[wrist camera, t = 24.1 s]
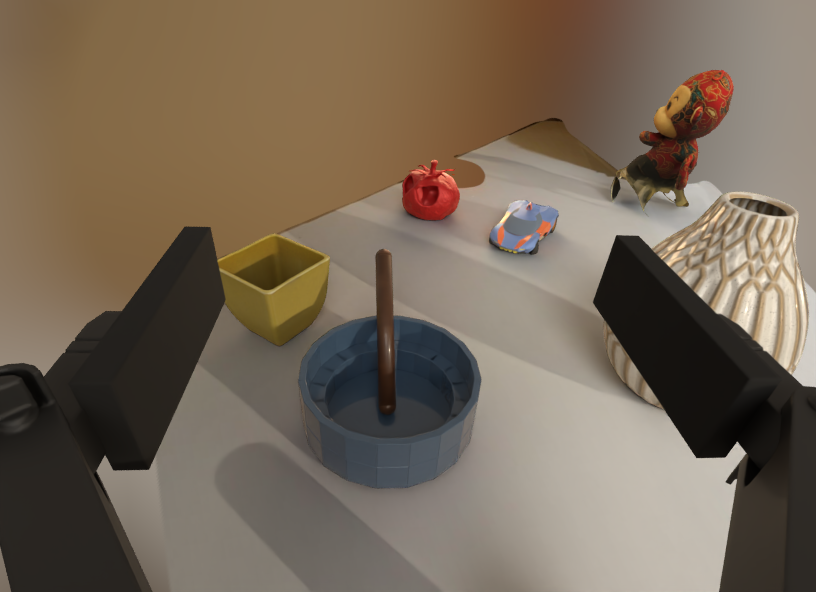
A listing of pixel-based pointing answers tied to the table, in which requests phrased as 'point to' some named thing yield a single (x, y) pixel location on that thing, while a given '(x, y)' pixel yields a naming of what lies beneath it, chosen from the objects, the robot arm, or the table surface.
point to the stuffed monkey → (678, 137)
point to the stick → (385, 333)
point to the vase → (737, 277)
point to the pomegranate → (430, 193)
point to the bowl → (415, 402)
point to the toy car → (524, 227)
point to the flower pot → (275, 286)
